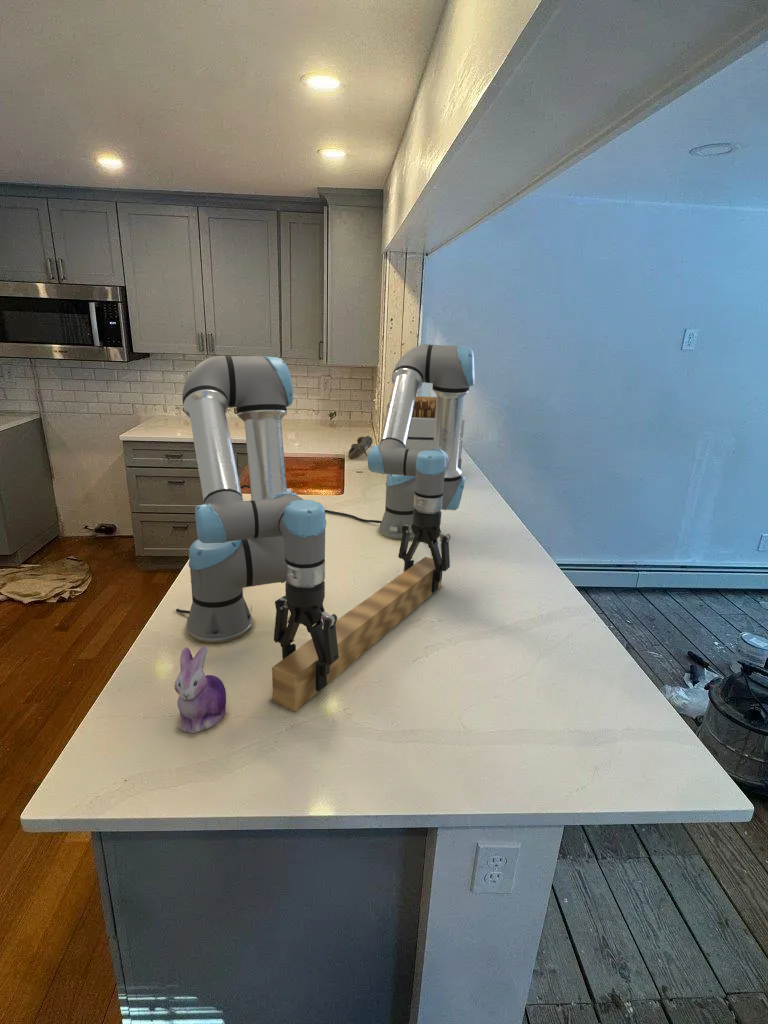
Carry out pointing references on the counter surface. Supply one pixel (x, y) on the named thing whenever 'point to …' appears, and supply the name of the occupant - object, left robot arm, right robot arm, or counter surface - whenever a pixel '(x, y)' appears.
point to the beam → (353, 634)
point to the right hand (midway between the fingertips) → (421, 586)
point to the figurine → (198, 693)
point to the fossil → (360, 447)
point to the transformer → (426, 426)
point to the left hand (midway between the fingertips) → (305, 680)
